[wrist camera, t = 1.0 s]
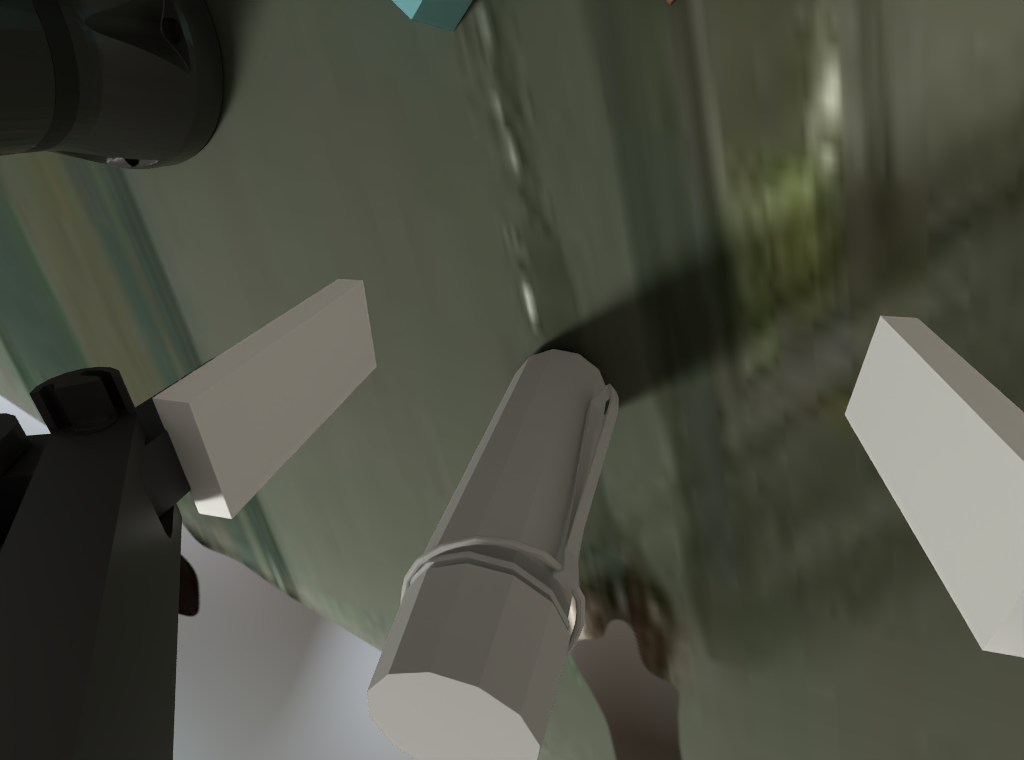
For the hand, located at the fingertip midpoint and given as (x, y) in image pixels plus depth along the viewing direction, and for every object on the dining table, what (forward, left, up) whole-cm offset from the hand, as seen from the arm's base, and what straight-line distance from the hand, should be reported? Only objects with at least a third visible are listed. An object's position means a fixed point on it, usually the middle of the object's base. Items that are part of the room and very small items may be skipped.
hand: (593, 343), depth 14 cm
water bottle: (+6, -12, -22) cm, 26 cm away
